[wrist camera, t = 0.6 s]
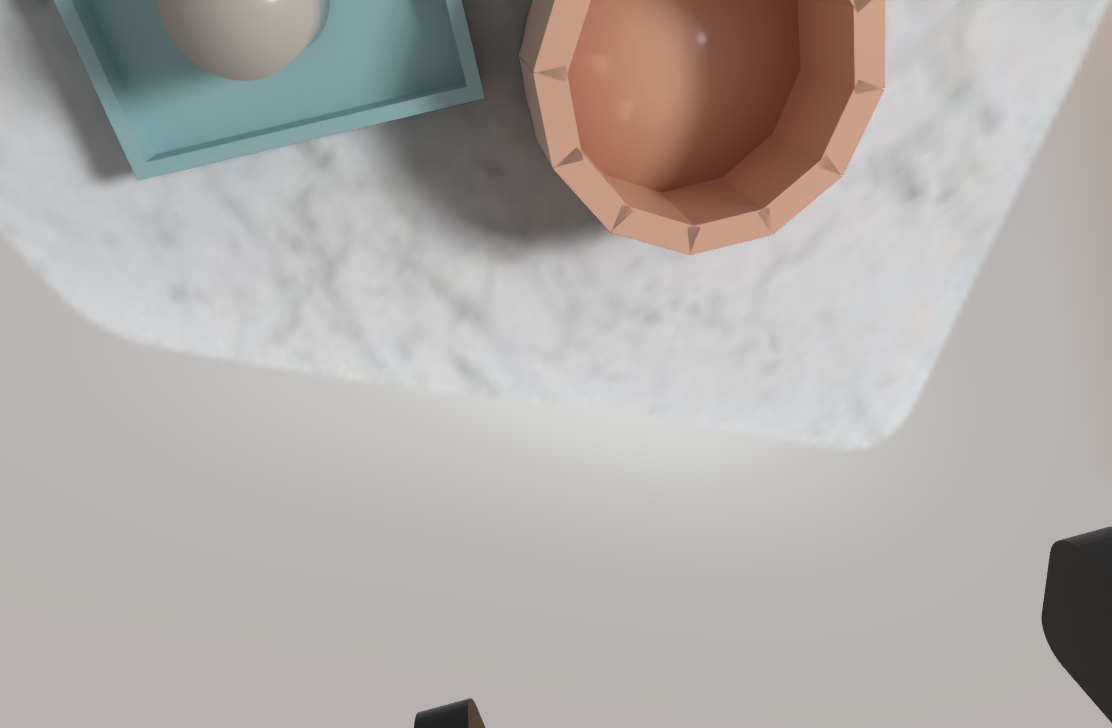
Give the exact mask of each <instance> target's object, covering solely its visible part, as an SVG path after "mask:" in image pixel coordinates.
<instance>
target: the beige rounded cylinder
mask: <svg viewBox="0 0 1112 728" xmlns="http://www.w3.org/2000/svg"><path fill="white" fill-rule="evenodd" d="M156 2H157V6H158V11H159V14H160V17H161V20H162V22H163V24H164V27H165V29H166V31H167V33H168V34H169V36H170V37H171V39H172V41H173V42H174V43H175V44H176V46H177V47H178V48H179V49H180V50H181V51H182V52H183V54H184V55H185V56H186V57H188V58H189V59H190V60H191V61H192V62H194V63H195V64H196V65H198V66H199V67H201V68H202V69H204V70H206V71H208V72H210V73H212V74H214V75H217V76H220V77H222V78H227V79H231V80H239V81H252V80H258V79H262V78H265V77H269V76H271V75H273V74H275V73H277V72H278V71H280V70H281V69H283V68H284V67H285V66H287V65H288V64H289V63H290V62H291V61H292V60H294V59H295V58H296V57H297V56H298V55H299V54H301V53H302V52H303V51H304V50H305V49H306V48H308V47H309V46H310V45H311V44H312V43H313V42H314V41H315V40H316V39H317V38H318V37H319V35H320V34H321V32H322V30H323V29H324V27H325V24H326V22H327V18H328V15H329V8H330V0H156Z"/></svg>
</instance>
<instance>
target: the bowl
mask: <svg viewBox="0 0 1112 728" xmlns="http://www.w3.org/2000/svg"><path fill="white" fill-rule="evenodd" d="M519 55H520V56H519V59H520V64H521V69H522V75H523V82H524V89H525V95H526V99H527V103H528V106H529V110H530V113H531V116H532V121H533V126H534V130H535V135H536V140H537V141H538V143H539V145H540V147H541V148H542V150H543V152H544V154H545V156H546V157H547V159H548V161H549V163H550V164H551V166H552V168H553V169H554V171H555V172H556V173H557V174H558V175H559V176H560V177H561V178H562V179H563V180H564V182H565V183H566V184H567V185H568V186H569V187H570V188H571V189H572V190H573V192H574V193H575V194H576V195H577V196H578V197H579V198H580V199H581V200H582V201H583V203H584V204H585V205H586V206H587V207H588V208H589V209H590V210H591V211H592V213H593V214H594V215H595V216H596V217H597V218H598V219H599V220H600V221H601V222H602V224H603V225H604V226H605V227H606V228H607V229H608V230H609V231H610V232H611V233H614V234H617V235H621V236H624V237H628V238H631V239H635V240H638V241H642V242H645V243H649V244H652V245H656V246H659V247H663V248H666V249H670V250H673V251H677V252H680V253H684V254H687V255H689V254H690V255H693V254H697V253H701V252H705V251H709V250H713V249H717V248H721V247H725V246H729V245H733V244H738V243H742V242H746V241H750V240H754V239H758V238H762V237H766V236H770V235H772V234H774V233H775V232H777V231H778V230H779V229H780V228H781V227H783V226H784V225H785V224H786V223H787V222H788V221H790V220H791V219H792V218H793V217H794V216H796V215H797V214H798V213H799V212H800V211H802V210H803V209H804V208H805V207H806V206H808V205H809V204H810V203H811V202H812V201H814V200H815V199H816V198H817V197H818V196H820V195H821V194H822V193H823V192H824V191H826V190H827V189H828V188H829V187H830V186H831V185H833V184H834V183H835V182H836V181H837V180H839V179H840V178H841V177H842V176H841V175H843V174H844V172H845V170H846V168H847V166H848V164H849V162H850V160H851V158H852V156H853V154H854V151H855V149H856V147H857V145H858V143H859V141H860V139H861V137H862V135H863V133H864V131H865V129H866V127H867V124H868V122H869V120H870V118H871V116H872V114H873V112H874V110H875V108H876V106H877V104H878V102H879V100H880V98H881V95H882V93H883V91H884V89H882V88H885V0H532V2H531V5H530V8H529V12H528V16H527V20H526V25H525V29H524V37H523V42H522V46H521V49H520V53H519Z"/></svg>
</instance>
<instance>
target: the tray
mask: <svg viewBox="0 0 1112 728" xmlns="http://www.w3.org/2000/svg"><path fill="white" fill-rule="evenodd" d="M53 1H54V3H55V5H56V7H57V9H58V12H59V14H60V16H61V18H62V20H63V22H64V24H65V27H66V29H67V31H68V33H69V35H70V37H71V39H72V42H73V44H74V46H75V48H76V50H77V52H78V54H79V57H80V59H81V61H82V63H83V65H84V67H85V69H86V72H87V74H88V76H89V78H90V80H91V82H92V84H93V87H94V89H95V91H96V93H97V95H98V97H99V99H100V102H101V104H102V106H103V108H104V110H105V112H106V114H107V117H108V119H109V121H110V123H111V125H112V127H113V129H114V132H115V134H116V136H117V138H118V140H119V142H120V144H121V147H122V149H123V151H124V153H125V155H126V157H127V159H128V162H129V164H130V166H131V168H132V170H133V172H134V174H135V177H136V179H137V181H138V180H142V179H146V178H151V177H155V176H159V175H163V174H168V173H172V172H176V171H180V170H184V169H189V168H193V167H197V166H201V165H206V164H210V163H214V162H218V161H223V160H227V159H231V158H235V157H239V156H244V155H248V154H252V153H256V152H261V151H265V150H269V149H273V148H277V147H282V146H286V145H290V144H294V143H299V142H303V141H307V140H311V139H316V138H320V137H324V136H328V135H332V134H337V133H341V132H345V131H349V130H354V129H358V128H362V127H366V126H370V125H375V124H379V123H383V122H387V121H392V120H396V119H400V118H404V117H409V116H413V115H417V114H421V113H425V112H430V111H434V110H438V109H442V108H447V107H451V106H455V105H459V104H463V103H468V102H472V101H476V100H480V99H485V97H484V93H483V88H482V84H481V80H480V76H479V71H478V67H477V63H476V59H475V54H474V50H473V46H472V42H471V37H470V33H469V29H468V25H467V20H466V16H465V12H464V8H463V4H462V0H330V8H329V15H328V18H327V22H326V24H325V27H324V29H323V30H322V32H321V34H320V35H319V37H318V38H317V39H316V40H315V41H314V42H313V43H312V44H311V45H310V46H309V47H308V48H306V49H305V50H304V51H303V52H302V53H301V54H299V55H298V56H297V57H296V58H295V59H294V60H292V61H291V62H290V63H289V64H288V65H287V66H285V67H284V68H283V69H281V70H280V71H278V72H277V73H275V74H273V75H271V76H269V77H265V78H262V79H258V80H252V81H239V80H231V79H227V78H222V77H220V76H217V75H214V74H212V73H210V72H208V71H206V70H204V69H202V68H201V67H199V66H198V65H196V64H195V63H194V62H192V61H191V60H190V59H189V58H188V57H186V56H185V55H184V54H183V52H182V51H181V50H180V49H179V48H178V47H177V46H176V44H175V43H174V42H173V41H172V39H171V37H170V36H169V34H168V33H167V31H166V29H165V27H164V24H163V22H162V20H161V17H160V14H159V11H158V6H157V2H156V0H53Z"/></svg>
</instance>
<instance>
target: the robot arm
mask: <svg viewBox="0 0 1112 728" xmlns="http://www.w3.org/2000/svg"><path fill="white" fill-rule="evenodd" d="M1042 625H1043V630H1044V634H1045V636H1046V639H1047V641H1048V644H1049V646H1050V648H1051V650H1052V651H1053V653H1054V655H1055V656H1056V658H1057V659H1058V661H1059V662H1060V663H1061V665H1062V666H1063V667H1064V668H1065V669H1066V670H1067V672H1068V673H1069V674H1070V675H1071V676H1072V677H1073V678H1074V680H1075V681H1076V682H1077V683H1078V684H1079V685H1080V687H1081V688H1082V689H1083V690H1084V691H1085V692H1086V694H1087V695H1088V696H1089V697H1090V698H1091V699H1092V701H1093V702H1094V703H1095V704H1096V705H1097V706H1098V707H1099V709H1100V710H1101V711H1102V712H1103V713H1104V714H1105V716H1106V717H1107V718H1108V719H1109V720H1110V721H1111V722H1112V527H1107V528H1103V529H1099V530H1096V531H1092V532H1088V533H1085V534H1081V535H1077V536H1074V537H1070V538H1067V539H1063V540H1059V541H1057V542H1055V543H1054V544H1053V546H1052V548H1051V552H1050V559H1049V565H1048V573H1047V580H1046V588H1045V595H1044V602H1043V610H1042ZM414 728H485V726H484V723H483V721H482V719H481V716H480V714H479V711H478V709H477V707H476V704H475V702H474V701H473V700H472V699H466V700H463V701H459V702H455V703H451V704H448V705H444V706H440V707H437V708H433V709H429V710H426V711H422V712H419V713H417V715H416V718H415V723H414Z"/></svg>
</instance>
